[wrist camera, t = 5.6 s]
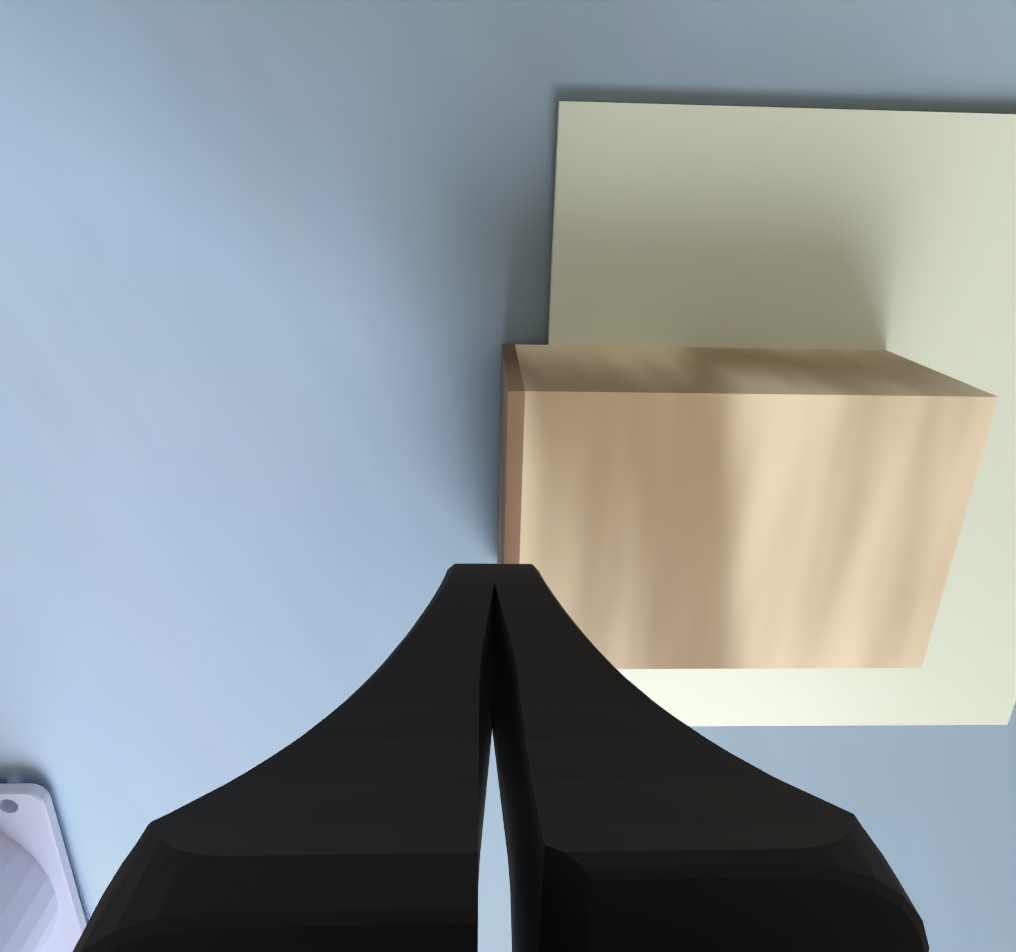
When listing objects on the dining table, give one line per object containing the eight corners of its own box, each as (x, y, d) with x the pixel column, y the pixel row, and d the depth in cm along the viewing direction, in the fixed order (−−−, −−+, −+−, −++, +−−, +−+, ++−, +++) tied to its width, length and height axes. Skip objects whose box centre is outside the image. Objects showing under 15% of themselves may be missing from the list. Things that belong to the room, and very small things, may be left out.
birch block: (501, 669, 15) (921, 667, 16) (508, 391, 13) (999, 396, 13) (497, 573, 19) (836, 574, 19) (501, 344, 17) (885, 350, 17)
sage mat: (531, 719, 21) (532, 727, 21) (558, 102, 15) (559, 101, 15) (1000, 717, 22) (1007, 724, 21) (1206, 120, 16) (1219, 120, 15)
